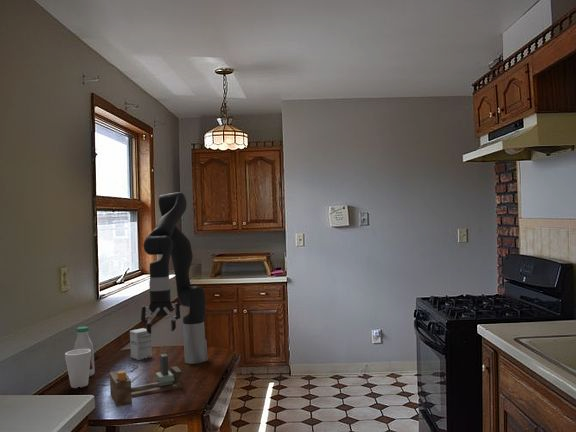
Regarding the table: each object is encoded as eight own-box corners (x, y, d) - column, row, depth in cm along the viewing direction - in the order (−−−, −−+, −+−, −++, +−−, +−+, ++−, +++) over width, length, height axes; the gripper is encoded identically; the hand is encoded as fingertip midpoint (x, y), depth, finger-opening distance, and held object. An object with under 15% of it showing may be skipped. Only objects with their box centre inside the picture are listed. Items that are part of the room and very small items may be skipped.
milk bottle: (78, 373, 213) (76, 326, 214) (96, 372, 214) (94, 324, 214) (71, 379, 206) (69, 329, 206) (91, 377, 206) (89, 328, 207)
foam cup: (76, 390, 190) (74, 356, 191) (61, 387, 195) (59, 353, 196) (97, 383, 199) (96, 350, 199) (82, 380, 203) (81, 347, 204)
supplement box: (130, 357, 235) (129, 330, 235) (145, 354, 240) (143, 327, 240) (137, 360, 230) (136, 332, 230) (152, 356, 235) (151, 329, 235)
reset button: (125, 383, 176) (124, 370, 176) (126, 385, 174) (125, 372, 174) (118, 384, 175) (117, 371, 175) (119, 386, 173) (118, 373, 173)
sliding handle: (169, 380, 193) (168, 352, 194) (174, 385, 187) (172, 356, 187) (156, 382, 191) (154, 354, 191) (160, 387, 185) (159, 358, 185)
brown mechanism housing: (176, 381, 195) (176, 361, 195) (187, 392, 182) (186, 370, 182) (110, 394, 184) (109, 372, 184) (116, 406, 171) (115, 383, 171)
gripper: (176, 286, 197) (177, 328, 196) (138, 289, 190) (140, 332, 190) (181, 288, 190) (182, 331, 189) (142, 291, 184) (143, 336, 183)
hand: (161, 332), depth 190 cm, fingers open, 8 cm apart
